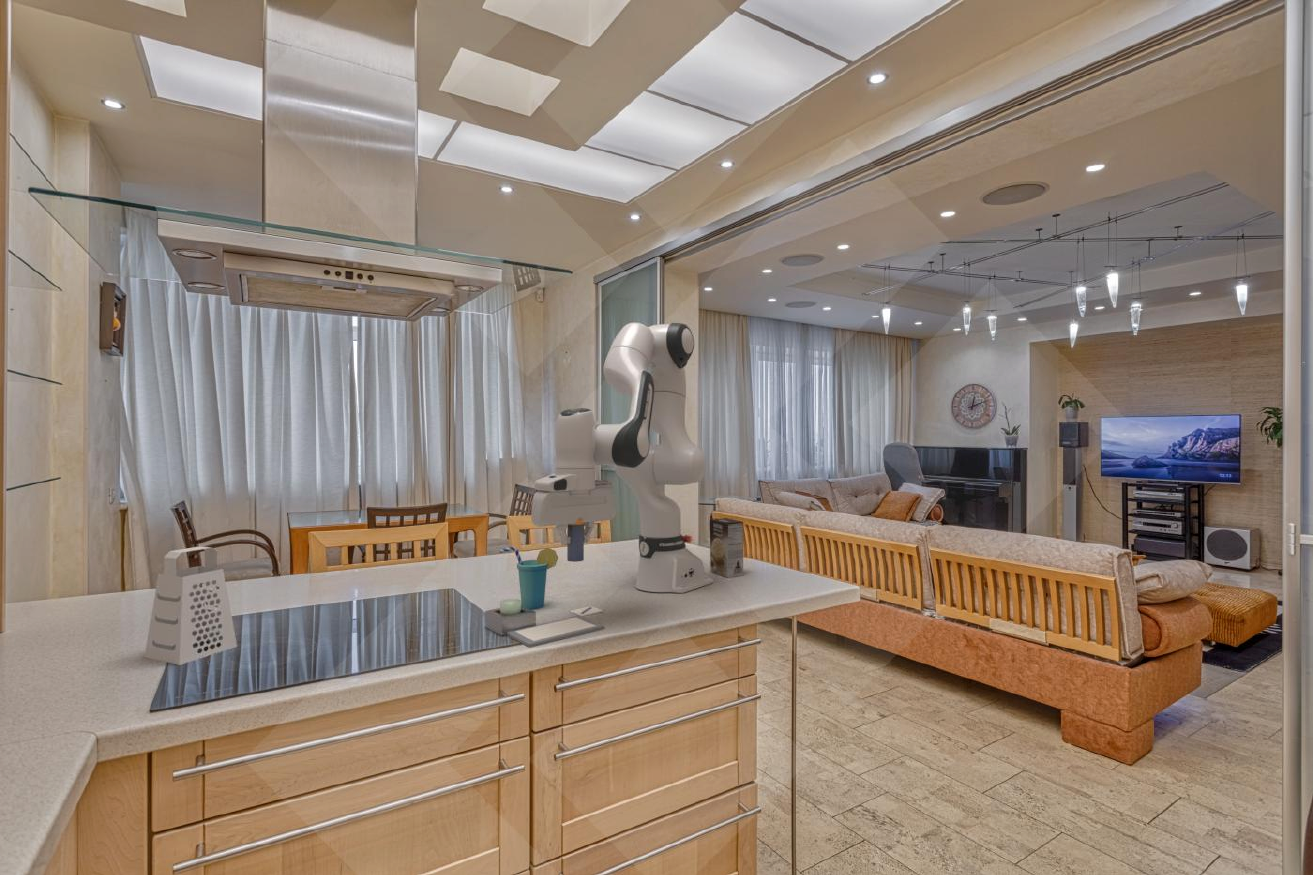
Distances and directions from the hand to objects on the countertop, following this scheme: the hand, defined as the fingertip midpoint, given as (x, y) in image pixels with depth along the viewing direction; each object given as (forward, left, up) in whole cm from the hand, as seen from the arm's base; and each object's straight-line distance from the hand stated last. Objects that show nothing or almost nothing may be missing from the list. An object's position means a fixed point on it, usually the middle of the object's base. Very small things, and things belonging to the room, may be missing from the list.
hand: (575, 543), depth 137 cm
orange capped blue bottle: (0, 0, -4) cm, 4 cm away
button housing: (+12, -7, -18) cm, 23 cm away
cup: (+1, -19, -18) cm, 26 cm away
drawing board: (+6, +2, -18) cm, 19 cm away
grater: (+66, -34, -18) cm, 77 cm away
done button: (+12, -7, -16) cm, 21 cm away
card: (-7, -6, -18) cm, 20 cm away
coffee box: (-61, -12, -18) cm, 64 cm away
